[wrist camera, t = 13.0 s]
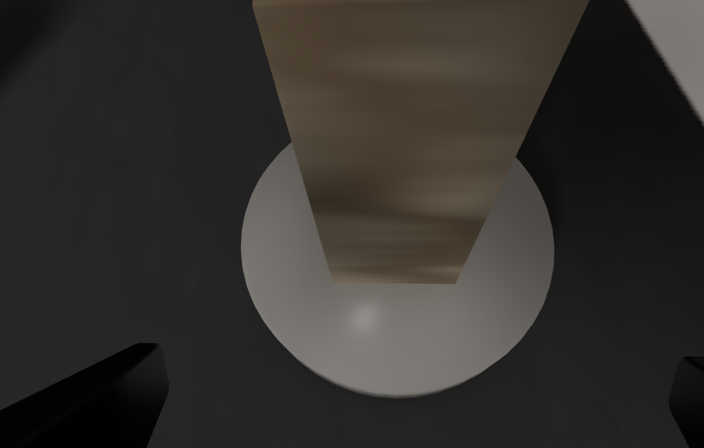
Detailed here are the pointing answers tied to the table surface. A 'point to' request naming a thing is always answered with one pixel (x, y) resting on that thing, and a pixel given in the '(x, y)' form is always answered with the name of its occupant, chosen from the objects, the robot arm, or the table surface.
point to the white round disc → (395, 293)
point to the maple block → (409, 119)
